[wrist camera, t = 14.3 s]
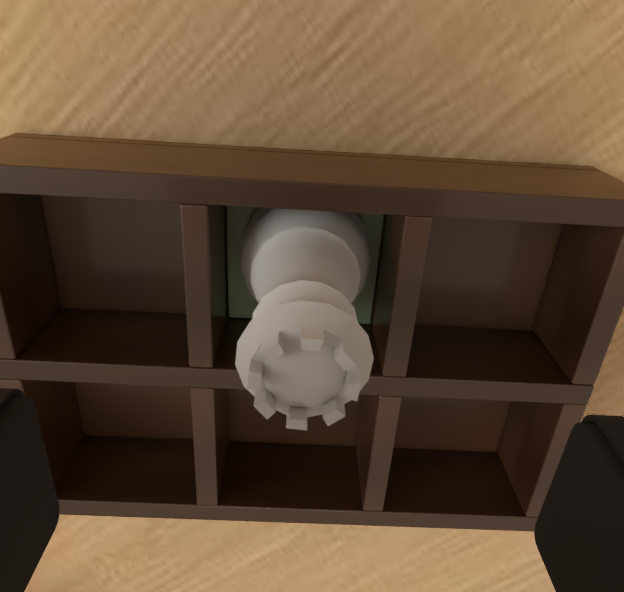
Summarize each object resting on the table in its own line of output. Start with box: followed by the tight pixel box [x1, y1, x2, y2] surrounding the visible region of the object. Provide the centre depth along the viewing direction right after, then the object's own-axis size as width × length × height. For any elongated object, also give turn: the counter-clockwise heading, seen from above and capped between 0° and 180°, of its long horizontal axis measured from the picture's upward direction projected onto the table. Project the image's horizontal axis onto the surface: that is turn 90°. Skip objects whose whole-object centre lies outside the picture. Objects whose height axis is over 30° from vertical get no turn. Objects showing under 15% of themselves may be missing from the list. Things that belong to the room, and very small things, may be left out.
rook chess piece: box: [235, 208, 374, 430], centre depth 15 cm, size 4×4×8 cm
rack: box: [0, 133, 624, 531], centre depth 19 cm, size 13×20×4 cm
